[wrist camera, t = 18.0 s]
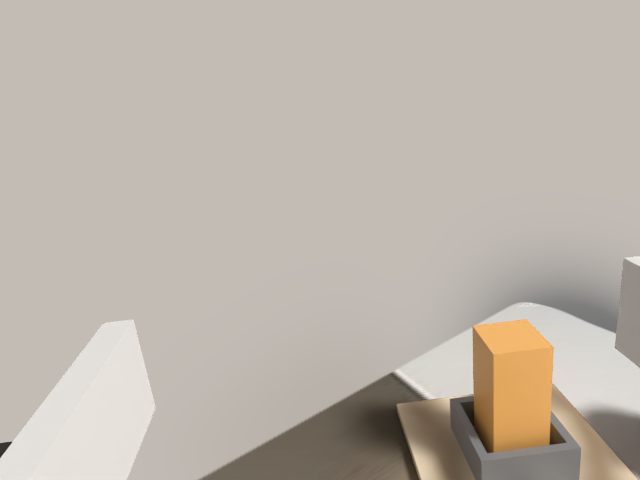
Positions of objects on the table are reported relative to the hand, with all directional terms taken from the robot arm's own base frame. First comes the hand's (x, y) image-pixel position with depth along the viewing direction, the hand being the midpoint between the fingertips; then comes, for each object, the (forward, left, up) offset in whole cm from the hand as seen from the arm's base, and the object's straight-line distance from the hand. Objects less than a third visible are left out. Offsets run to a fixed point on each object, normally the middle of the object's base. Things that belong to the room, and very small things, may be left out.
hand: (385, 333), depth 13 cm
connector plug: (+15, +25, -28) cm, 40 cm away
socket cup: (+15, +25, -29) cm, 41 cm away
